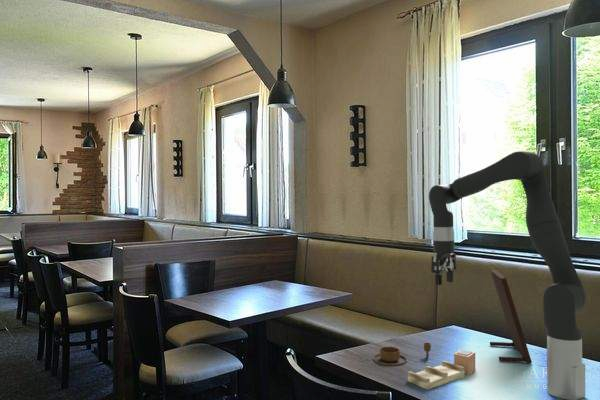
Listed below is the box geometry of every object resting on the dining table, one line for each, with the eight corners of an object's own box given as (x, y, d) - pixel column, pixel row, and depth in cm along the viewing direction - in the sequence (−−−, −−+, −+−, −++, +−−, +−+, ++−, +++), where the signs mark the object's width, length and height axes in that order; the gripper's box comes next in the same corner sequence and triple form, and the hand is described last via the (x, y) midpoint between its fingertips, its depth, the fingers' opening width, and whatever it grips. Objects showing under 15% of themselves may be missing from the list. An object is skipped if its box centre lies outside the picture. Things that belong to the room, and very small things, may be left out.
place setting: (377, 353, 185) (376, 338, 185) (431, 358, 179) (431, 342, 179) (369, 369, 168) (369, 352, 168) (429, 375, 163) (429, 357, 162)
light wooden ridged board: (464, 376, 159) (464, 367, 159) (427, 389, 149) (427, 379, 149) (444, 369, 166) (444, 360, 166) (407, 381, 155) (407, 371, 155)
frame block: (475, 369, 165) (475, 351, 165) (468, 375, 161) (468, 356, 161) (461, 366, 169) (460, 348, 169) (454, 371, 164) (454, 353, 164)
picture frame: (532, 364, 170) (531, 278, 170) (500, 362, 173) (499, 277, 172) (517, 346, 191) (517, 269, 191) (489, 344, 193) (488, 268, 193)
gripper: (443, 241, 172) (444, 287, 172) (462, 238, 182) (463, 282, 182) (424, 240, 177) (425, 284, 177) (443, 237, 187) (444, 279, 187)
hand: (444, 283), depth 179 cm, fingers open, 8 cm apart
